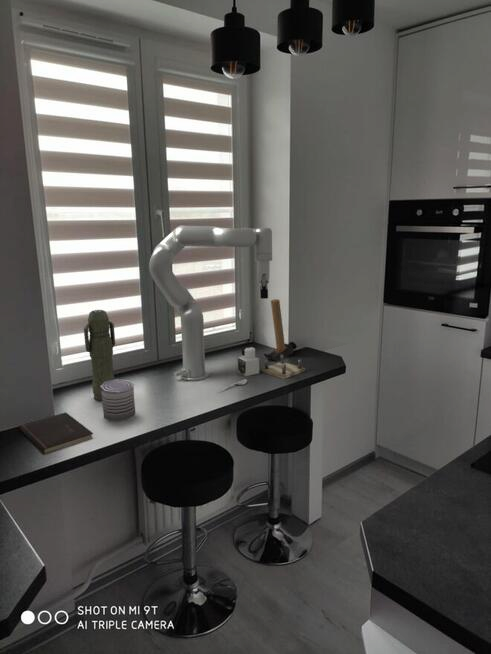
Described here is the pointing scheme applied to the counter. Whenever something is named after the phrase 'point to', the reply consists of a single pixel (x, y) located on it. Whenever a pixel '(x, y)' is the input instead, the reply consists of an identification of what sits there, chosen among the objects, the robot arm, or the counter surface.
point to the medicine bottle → (248, 362)
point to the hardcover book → (55, 432)
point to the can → (118, 400)
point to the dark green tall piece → (100, 349)
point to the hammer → (279, 335)
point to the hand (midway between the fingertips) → (264, 296)
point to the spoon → (233, 384)
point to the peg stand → (283, 368)
